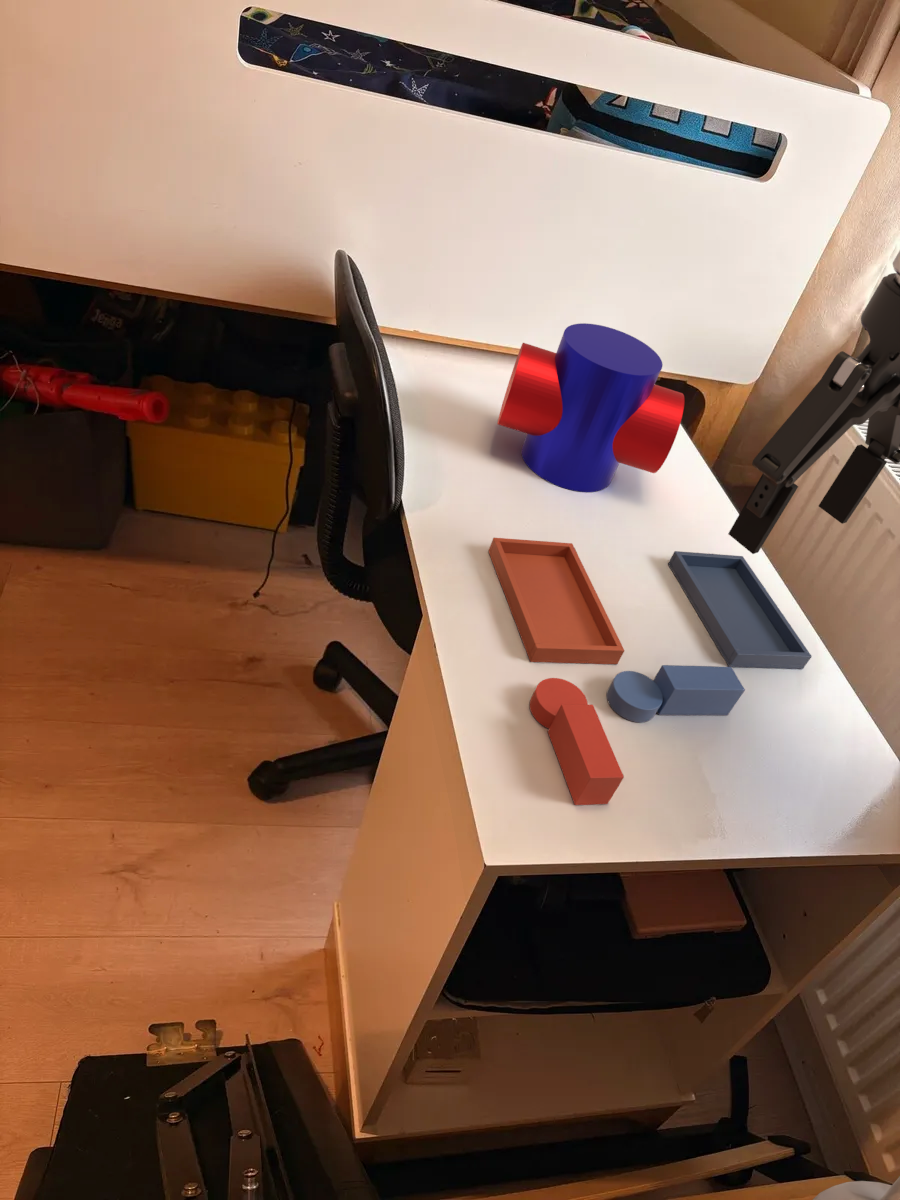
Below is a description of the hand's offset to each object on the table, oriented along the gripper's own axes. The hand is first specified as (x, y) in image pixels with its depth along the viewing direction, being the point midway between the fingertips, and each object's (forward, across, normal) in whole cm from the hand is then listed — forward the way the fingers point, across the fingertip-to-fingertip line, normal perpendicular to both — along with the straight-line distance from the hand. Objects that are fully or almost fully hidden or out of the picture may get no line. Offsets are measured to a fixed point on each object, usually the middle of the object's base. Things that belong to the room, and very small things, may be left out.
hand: (789, 528), depth 77 cm
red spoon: (+19, +19, +1) cm, 27 cm away
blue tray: (+19, -12, -5) cm, 23 cm away
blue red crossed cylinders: (+19, -13, -34) cm, 41 cm away
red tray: (+19, +8, -14) cm, 25 cm away
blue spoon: (+19, +6, +1) cm, 20 cm away
